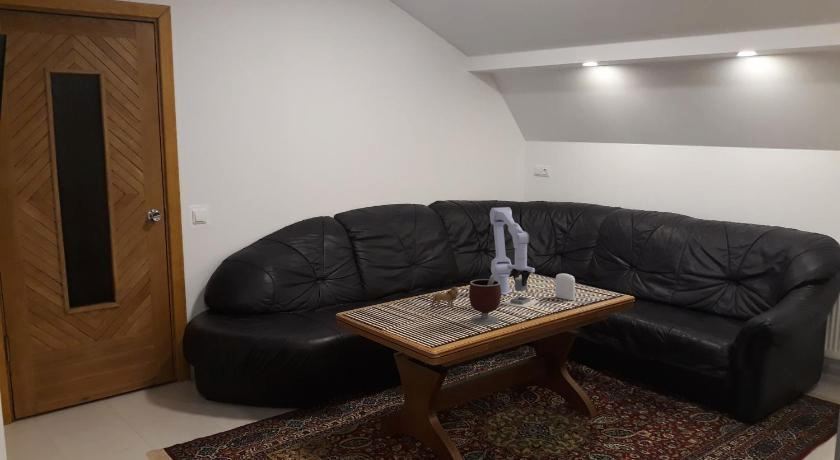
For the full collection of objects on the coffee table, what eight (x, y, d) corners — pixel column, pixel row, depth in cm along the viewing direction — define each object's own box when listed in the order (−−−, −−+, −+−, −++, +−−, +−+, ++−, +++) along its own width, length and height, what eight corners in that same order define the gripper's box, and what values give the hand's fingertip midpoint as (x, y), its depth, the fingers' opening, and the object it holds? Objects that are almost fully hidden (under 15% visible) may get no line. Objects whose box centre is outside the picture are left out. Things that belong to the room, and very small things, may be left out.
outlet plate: (501, 303, 310) (501, 300, 310) (515, 297, 321) (515, 294, 321) (525, 307, 302) (525, 303, 302) (539, 301, 313) (539, 297, 313)
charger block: (515, 290, 310) (515, 278, 310) (520, 288, 314) (521, 276, 313) (521, 291, 308) (521, 279, 307) (526, 289, 312) (527, 277, 311)
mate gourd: (488, 327, 272) (488, 280, 270) (462, 321, 282) (462, 276, 279) (509, 319, 284) (509, 274, 281) (484, 313, 293) (484, 270, 290)
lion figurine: (455, 303, 312) (455, 285, 311) (460, 306, 307) (460, 287, 306) (428, 307, 306) (427, 288, 305) (432, 309, 301) (432, 291, 300)
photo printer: (553, 297, 322) (554, 272, 320) (559, 295, 324) (559, 271, 322) (570, 301, 314) (571, 276, 312) (576, 299, 316) (576, 274, 315)
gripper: (538, 258, 306) (538, 285, 308) (513, 254, 316) (512, 281, 318) (530, 260, 301) (529, 288, 303) (504, 256, 311) (504, 284, 313)
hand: (520, 285), depth 310 cm, fingers closed on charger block, 3 cm apart
